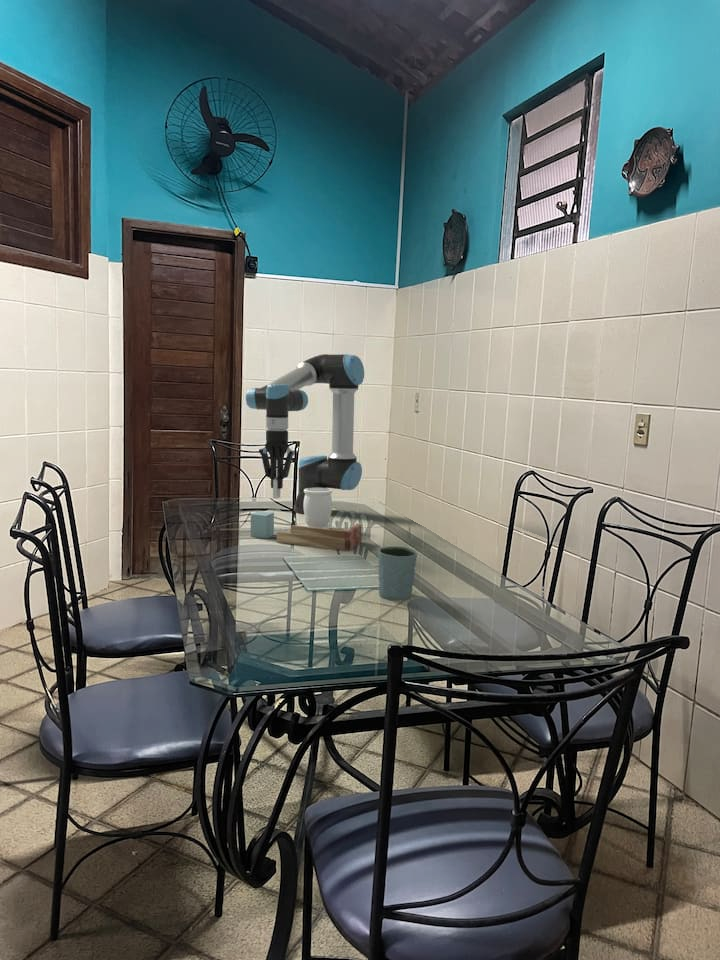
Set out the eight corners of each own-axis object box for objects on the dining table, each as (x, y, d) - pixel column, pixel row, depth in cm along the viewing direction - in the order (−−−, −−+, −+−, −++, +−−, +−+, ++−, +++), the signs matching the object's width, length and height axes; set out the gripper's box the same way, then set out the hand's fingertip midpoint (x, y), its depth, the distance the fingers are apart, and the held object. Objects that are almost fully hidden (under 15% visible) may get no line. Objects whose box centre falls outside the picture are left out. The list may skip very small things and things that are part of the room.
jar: (314, 533, 249) (315, 492, 246) (297, 528, 256) (298, 488, 254) (337, 530, 255) (338, 490, 253) (320, 525, 263) (320, 486, 261)
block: (258, 533, 248) (258, 511, 247) (273, 534, 246) (273, 512, 245) (250, 536, 242) (250, 514, 241) (266, 538, 240) (266, 515, 239)
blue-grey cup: (377, 588, 187) (378, 545, 185) (414, 590, 187) (416, 546, 185) (376, 600, 177) (378, 555, 175) (416, 602, 177) (418, 556, 175)
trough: (291, 534, 246) (292, 518, 245) (361, 542, 238) (361, 525, 237) (276, 542, 235) (276, 525, 234) (348, 550, 227) (349, 532, 226)
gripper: (254, 429, 234) (254, 497, 238) (289, 431, 230) (289, 501, 234) (265, 428, 241) (264, 494, 245) (299, 429, 237) (298, 497, 241)
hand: (276, 497), depth 239 cm, fingers closed
